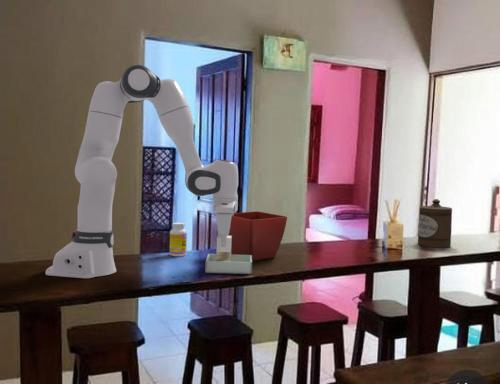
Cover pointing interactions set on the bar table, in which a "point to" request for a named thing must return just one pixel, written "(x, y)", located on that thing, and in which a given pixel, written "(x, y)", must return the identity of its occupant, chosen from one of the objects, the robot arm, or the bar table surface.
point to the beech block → (223, 256)
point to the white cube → (228, 244)
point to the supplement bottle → (178, 240)
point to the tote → (229, 264)
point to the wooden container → (435, 225)
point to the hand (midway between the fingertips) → (224, 244)
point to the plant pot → (256, 234)
